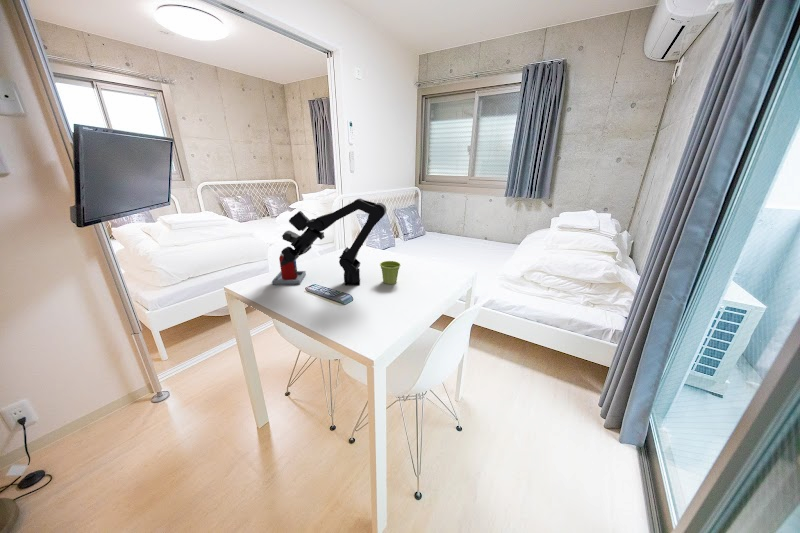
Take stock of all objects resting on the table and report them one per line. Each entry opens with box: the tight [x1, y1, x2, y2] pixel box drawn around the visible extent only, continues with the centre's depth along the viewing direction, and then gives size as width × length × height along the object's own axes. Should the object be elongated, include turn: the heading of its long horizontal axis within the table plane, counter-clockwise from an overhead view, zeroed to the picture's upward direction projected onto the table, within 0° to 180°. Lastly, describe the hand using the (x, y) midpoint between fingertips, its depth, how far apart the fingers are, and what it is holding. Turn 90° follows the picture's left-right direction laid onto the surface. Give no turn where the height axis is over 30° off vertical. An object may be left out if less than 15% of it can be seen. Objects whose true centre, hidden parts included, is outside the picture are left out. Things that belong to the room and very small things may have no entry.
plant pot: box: [379, 260, 402, 285], centre depth 124 cm, size 9×9×9 cm
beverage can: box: [279, 253, 298, 280], centre depth 123 cm, size 7×7×12 cm
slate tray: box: [271, 270, 307, 286], centre depth 125 cm, size 12×12×2 cm
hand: (286, 261), depth 123 cm, fingers open, 9 cm apart
